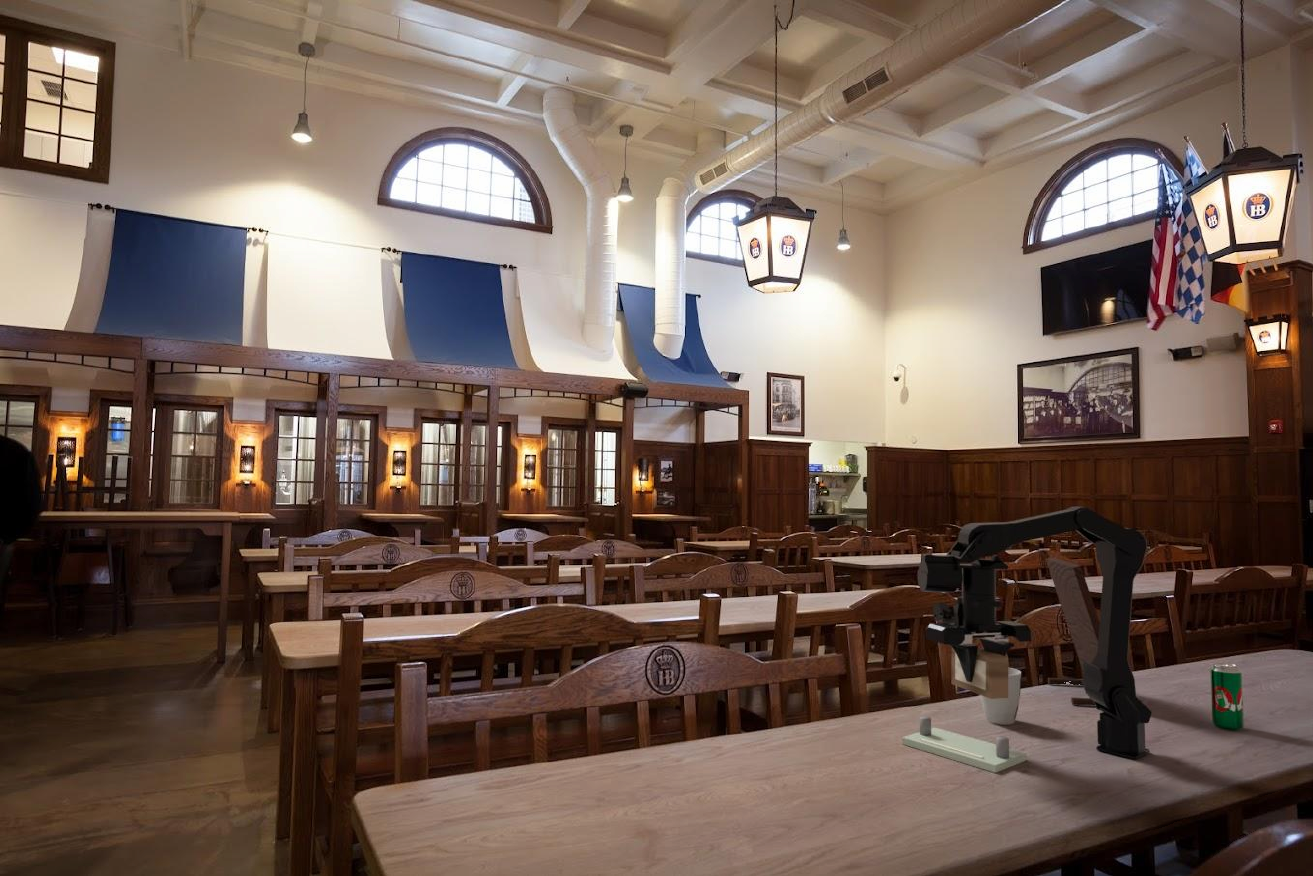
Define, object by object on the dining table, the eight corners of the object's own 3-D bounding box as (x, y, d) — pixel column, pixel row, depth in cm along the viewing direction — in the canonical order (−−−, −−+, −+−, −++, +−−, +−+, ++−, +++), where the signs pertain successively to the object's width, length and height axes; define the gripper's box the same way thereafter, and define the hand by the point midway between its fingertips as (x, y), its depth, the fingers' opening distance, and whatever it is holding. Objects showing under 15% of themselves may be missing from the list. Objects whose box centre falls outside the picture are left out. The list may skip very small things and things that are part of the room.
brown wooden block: (1008, 697, 137) (1008, 657, 138) (990, 699, 136) (990, 657, 137) (967, 683, 147) (967, 645, 148) (950, 684, 146) (950, 645, 147)
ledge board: (1026, 760, 136) (1026, 735, 136) (995, 772, 130) (994, 746, 130) (934, 733, 150) (934, 711, 150) (902, 744, 144) (901, 720, 144)
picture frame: (1128, 709, 167) (1123, 566, 169) (1074, 706, 169) (1070, 565, 171) (1094, 685, 187) (1090, 558, 189) (1046, 683, 189) (1043, 557, 191)
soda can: (1233, 724, 157) (1231, 662, 158) (1250, 731, 152) (1247, 668, 153) (1206, 723, 157) (1204, 662, 158) (1222, 731, 152) (1219, 667, 153)
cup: (1029, 727, 154) (1028, 675, 155) (987, 727, 155) (986, 675, 155) (1011, 715, 162) (1010, 666, 163) (972, 715, 163) (971, 665, 163)
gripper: (990, 586, 153) (990, 668, 152) (907, 588, 148) (907, 673, 147) (1033, 595, 142) (1033, 682, 142) (946, 596, 137) (945, 688, 136)
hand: (978, 681), depth 142 cm, fingers closed on brown wooden block, 4 cm apart
